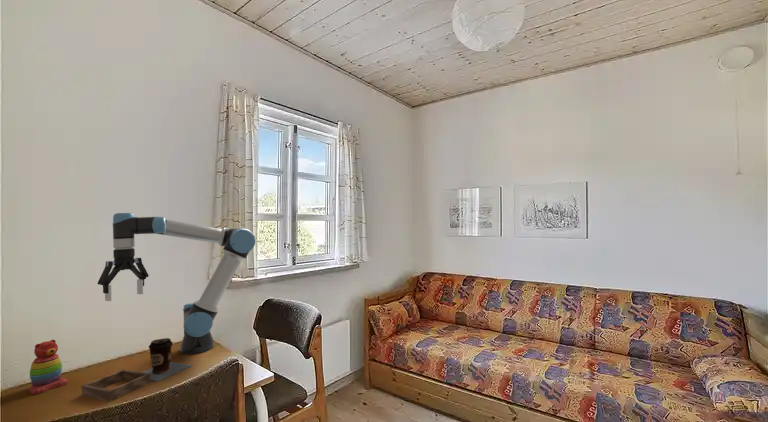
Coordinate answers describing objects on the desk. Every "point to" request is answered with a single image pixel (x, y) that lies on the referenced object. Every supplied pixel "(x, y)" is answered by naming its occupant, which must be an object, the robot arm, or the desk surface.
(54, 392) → the desk surface
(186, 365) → the mat
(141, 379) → the square frame
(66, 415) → the desk surface
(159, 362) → the coffee cup
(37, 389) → the stacking bear
